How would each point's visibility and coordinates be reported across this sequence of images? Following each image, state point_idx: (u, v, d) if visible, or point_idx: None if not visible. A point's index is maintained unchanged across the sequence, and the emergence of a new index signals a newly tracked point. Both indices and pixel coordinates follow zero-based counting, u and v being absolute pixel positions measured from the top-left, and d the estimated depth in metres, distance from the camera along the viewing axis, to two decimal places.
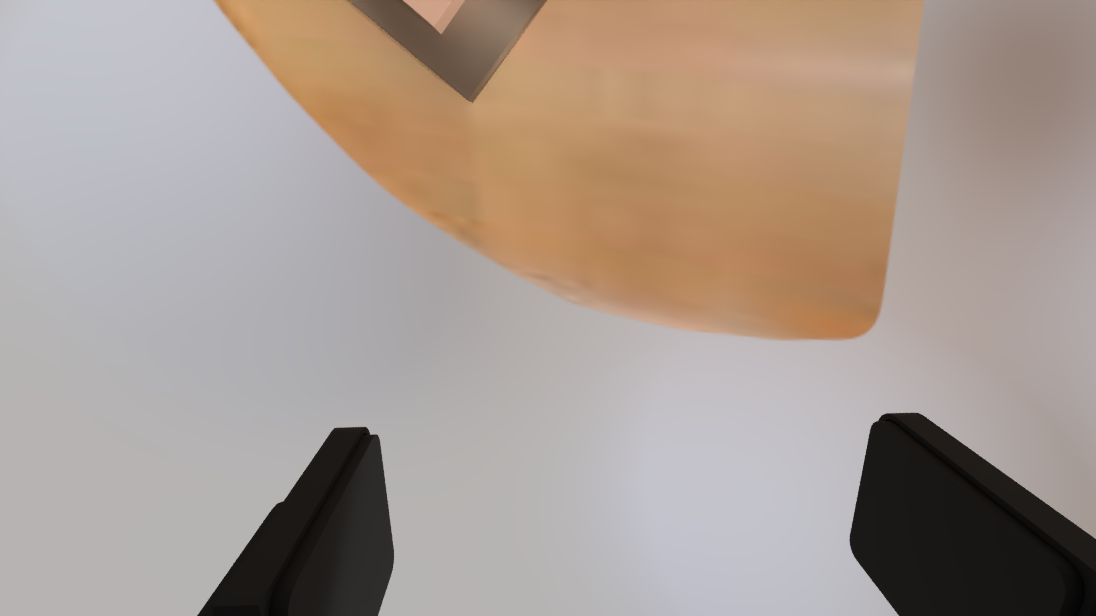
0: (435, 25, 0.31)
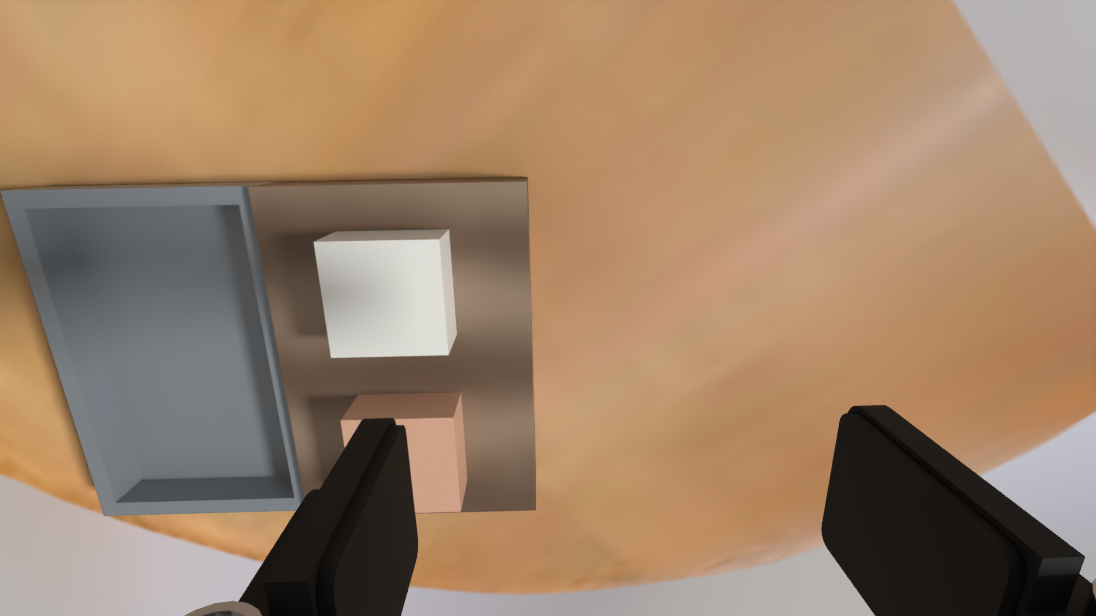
0: (460, 507, 0.25)
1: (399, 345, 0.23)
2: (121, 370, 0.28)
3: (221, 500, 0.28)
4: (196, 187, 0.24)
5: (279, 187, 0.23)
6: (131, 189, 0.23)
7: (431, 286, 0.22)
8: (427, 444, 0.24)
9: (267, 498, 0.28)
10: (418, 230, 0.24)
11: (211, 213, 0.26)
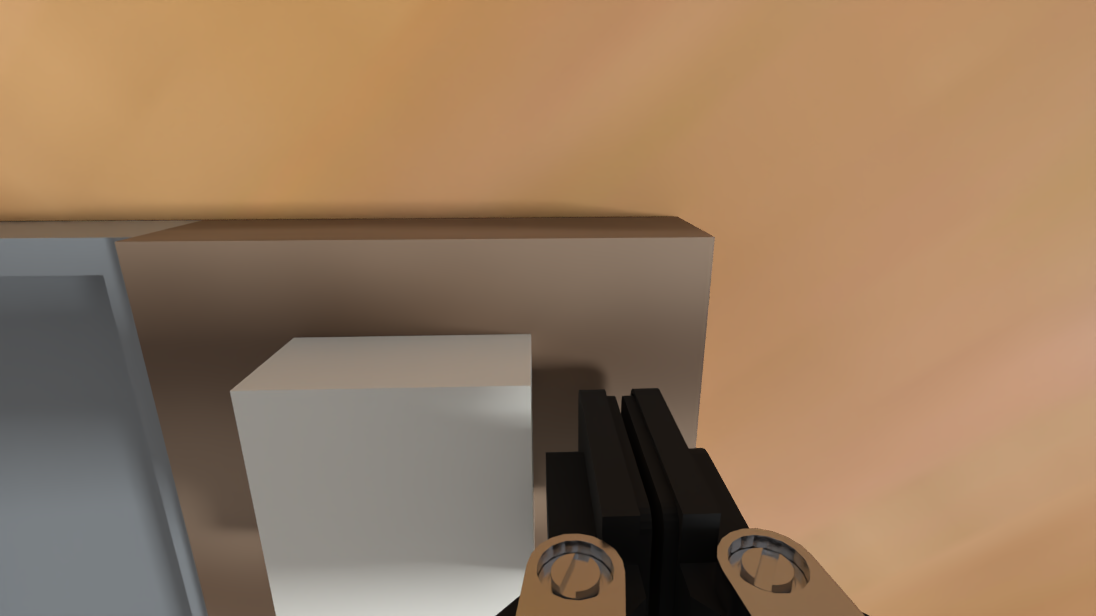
0: None
1: (428, 599, 0.10)
2: None
3: None
4: (11, 238, 0.11)
5: (183, 243, 0.11)
6: None
7: (506, 485, 0.10)
8: None
9: None
10: (467, 337, 0.11)
11: (70, 280, 0.13)
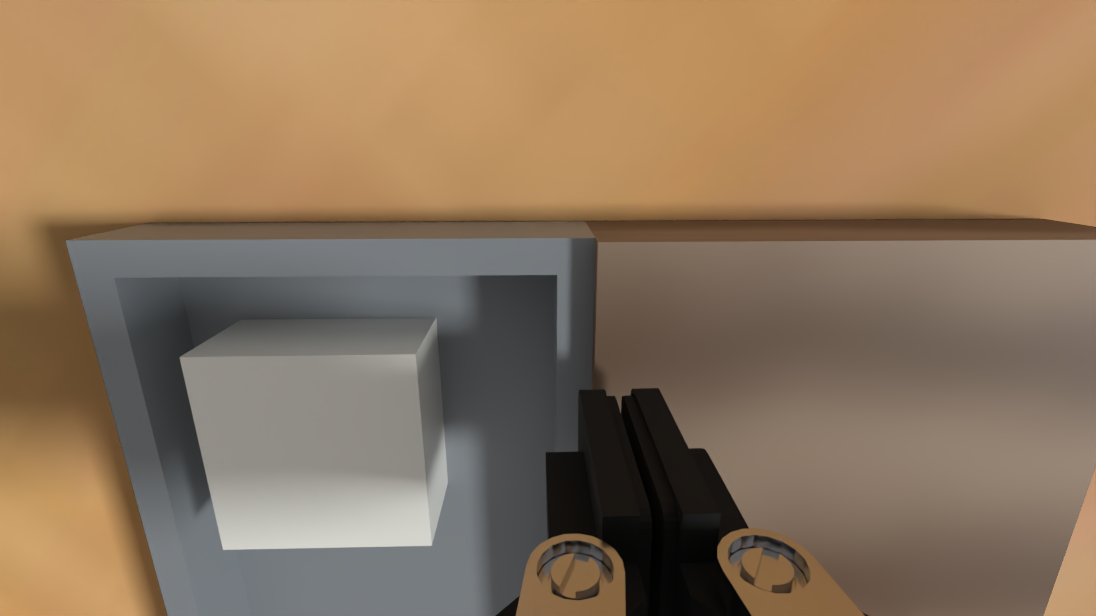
0: None
1: None
2: None
3: None
4: (474, 239, 0.11)
5: (662, 244, 0.11)
6: (341, 241, 0.11)
7: None
8: None
9: None
10: (245, 353, 0.12)
11: (456, 279, 0.14)
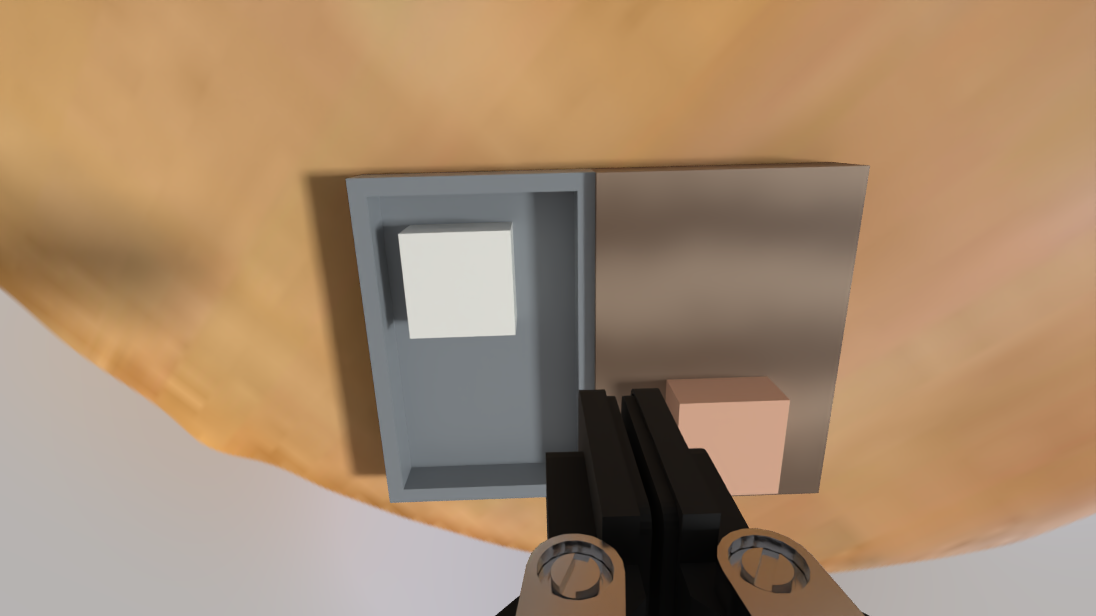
0: (777, 490, 0.26)
1: None
2: (409, 358, 0.28)
3: (507, 486, 0.29)
4: (537, 174, 0.24)
5: (626, 173, 0.23)
6: (475, 176, 0.24)
7: None
8: (759, 427, 0.24)
9: None
10: (428, 232, 0.24)
11: (523, 200, 0.26)
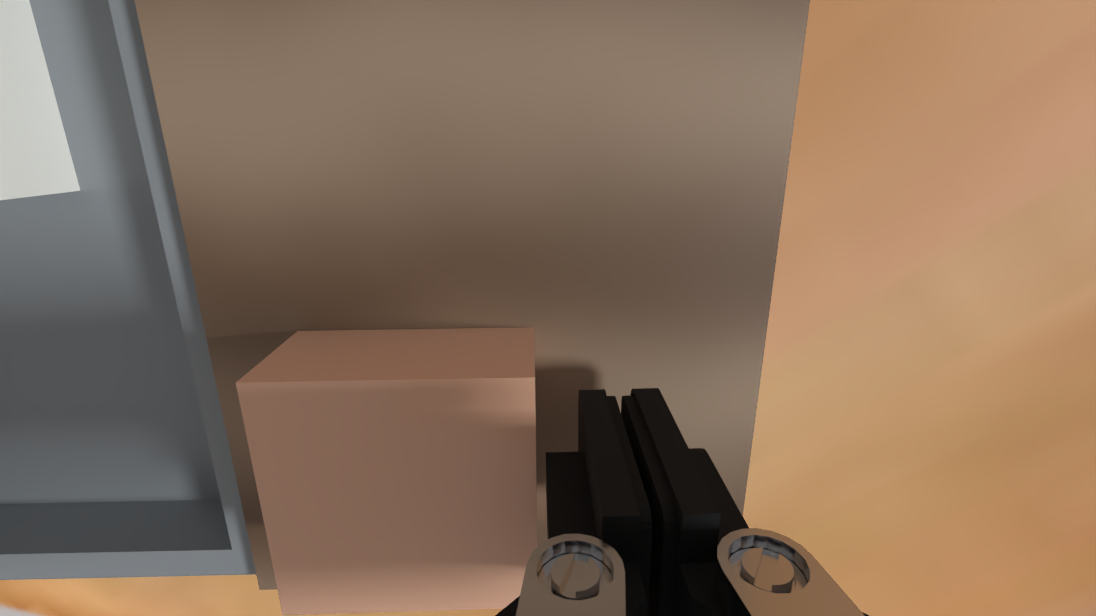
0: None
1: None
2: None
3: (78, 553, 0.14)
4: None
5: None
6: None
7: None
8: (465, 446, 0.09)
9: (176, 549, 0.14)
10: None
11: None
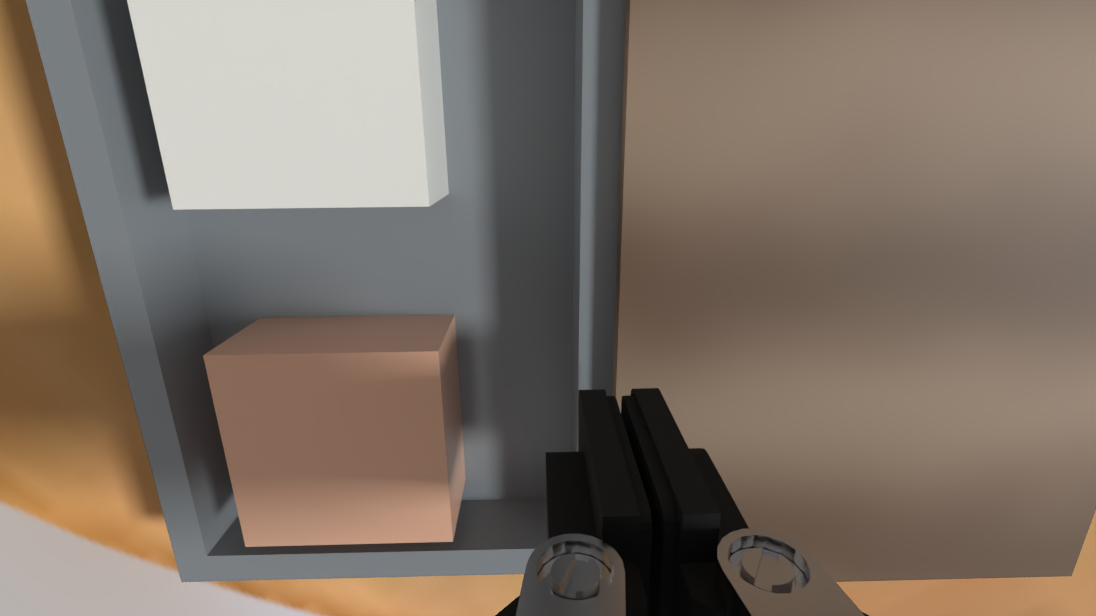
0: None
1: None
2: (222, 279, 0.13)
3: (426, 552, 0.14)
4: None
5: None
6: None
7: None
8: None
9: (519, 548, 0.14)
10: None
11: None
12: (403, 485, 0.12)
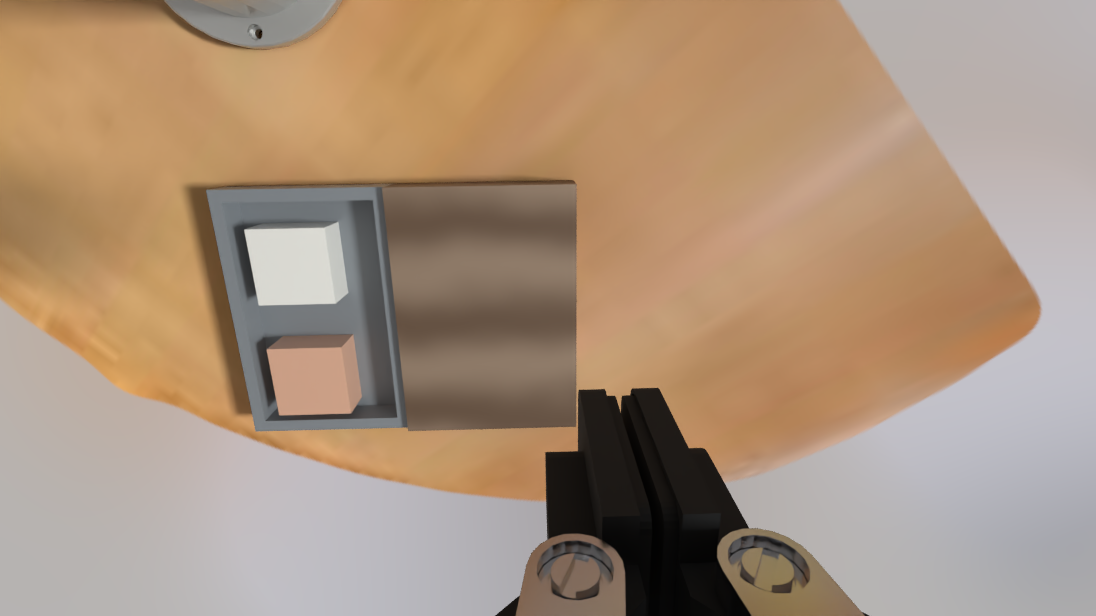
0: None
1: None
2: (269, 322, 0.38)
3: (343, 419, 0.38)
4: (343, 187, 0.33)
5: (403, 188, 0.33)
6: (298, 189, 0.33)
7: None
8: None
9: (377, 418, 0.38)
10: (266, 228, 0.34)
11: (345, 206, 0.36)
12: (332, 392, 0.37)
